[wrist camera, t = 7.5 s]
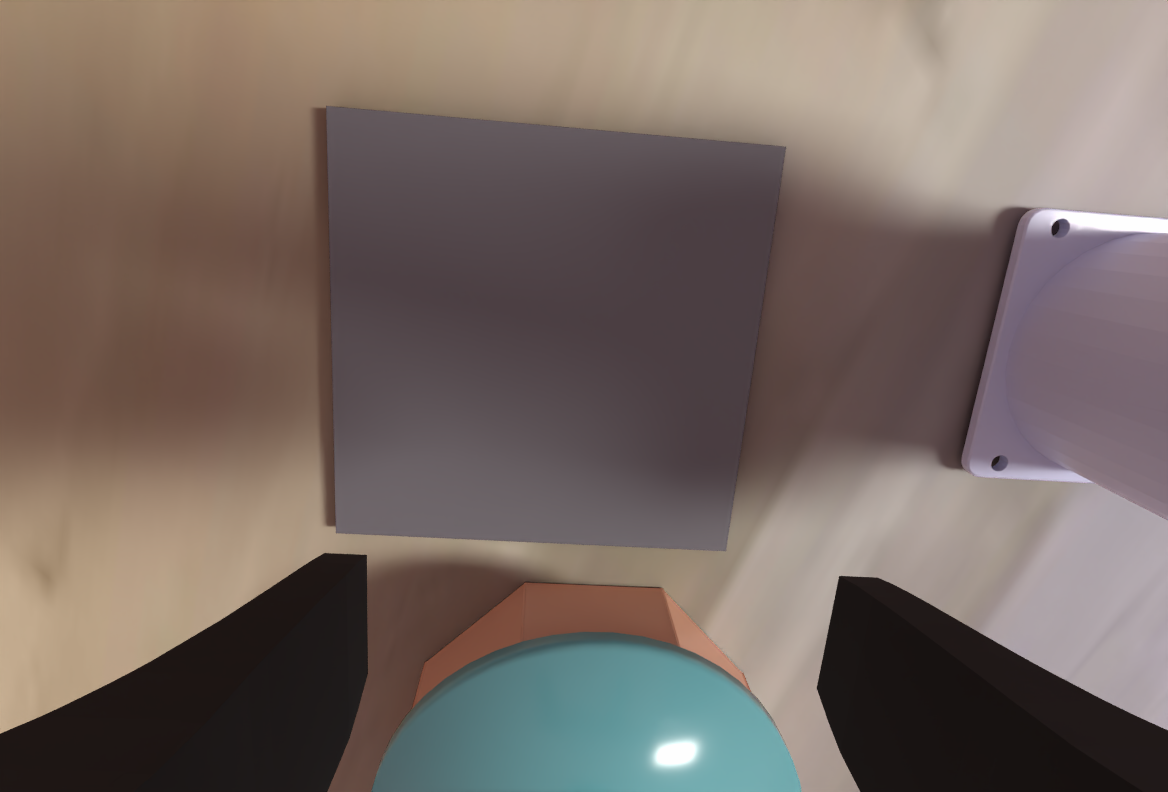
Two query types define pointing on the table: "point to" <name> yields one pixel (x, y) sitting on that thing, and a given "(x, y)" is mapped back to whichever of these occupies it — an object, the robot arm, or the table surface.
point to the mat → (542, 328)
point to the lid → (588, 724)
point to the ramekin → (573, 625)
